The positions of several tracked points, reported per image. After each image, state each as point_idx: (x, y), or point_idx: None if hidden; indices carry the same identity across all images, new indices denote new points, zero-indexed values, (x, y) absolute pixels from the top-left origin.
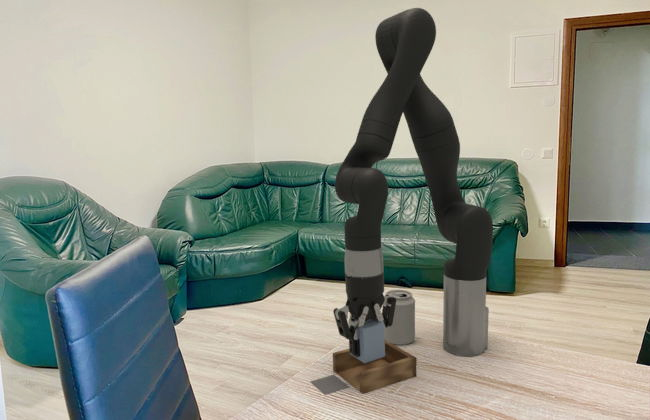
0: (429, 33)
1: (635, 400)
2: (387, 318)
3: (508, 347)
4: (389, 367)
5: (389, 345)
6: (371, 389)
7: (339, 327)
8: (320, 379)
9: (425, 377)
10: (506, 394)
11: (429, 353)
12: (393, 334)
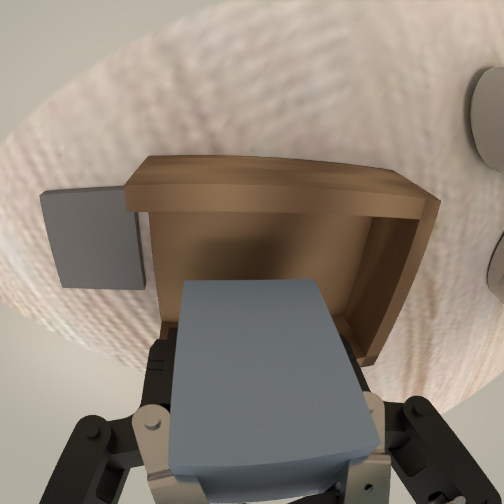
0: None
1: (440, 413)
2: (396, 461)
3: None
4: None
5: (405, 263)
6: None
7: (68, 469)
8: (73, 199)
9: None
10: (392, 394)
11: (477, 230)
12: (498, 144)
